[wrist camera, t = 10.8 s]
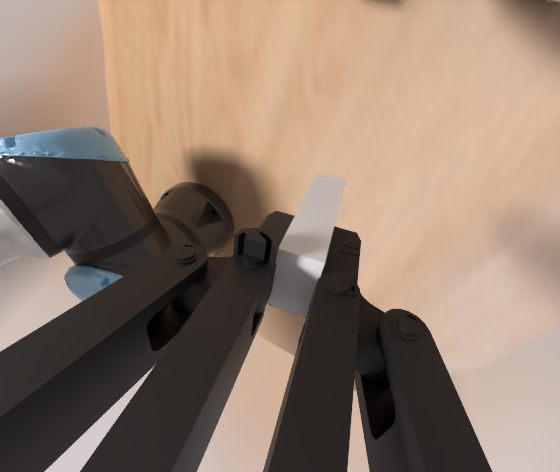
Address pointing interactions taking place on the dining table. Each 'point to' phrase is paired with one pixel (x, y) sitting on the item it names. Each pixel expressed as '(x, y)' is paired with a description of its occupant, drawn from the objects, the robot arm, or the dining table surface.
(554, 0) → the bay
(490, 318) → the dining table surface
